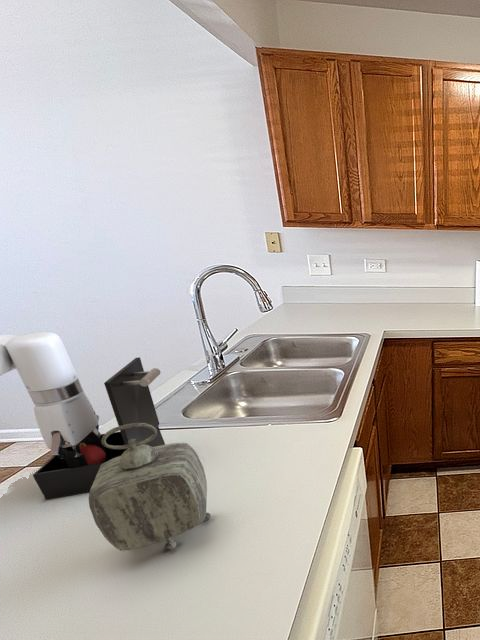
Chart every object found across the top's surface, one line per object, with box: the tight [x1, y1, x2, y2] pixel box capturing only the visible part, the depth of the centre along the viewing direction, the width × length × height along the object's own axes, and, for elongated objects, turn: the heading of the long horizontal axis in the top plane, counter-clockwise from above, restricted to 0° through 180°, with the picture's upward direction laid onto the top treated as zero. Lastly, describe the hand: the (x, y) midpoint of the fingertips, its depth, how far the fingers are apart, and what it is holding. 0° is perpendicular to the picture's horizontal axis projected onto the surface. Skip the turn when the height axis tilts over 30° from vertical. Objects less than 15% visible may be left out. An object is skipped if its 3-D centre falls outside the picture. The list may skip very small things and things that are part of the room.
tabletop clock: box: [88, 423, 211, 552], centre depth 68 cm, size 14×9×25 cm, turn 122°
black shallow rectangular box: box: [32, 425, 166, 501], centre depth 90 cm, size 17×14×6 cm
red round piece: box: [79, 443, 106, 465], centre depth 89 cm, size 6×6×8 cm
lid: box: [103, 356, 161, 445], centre depth 89 cm, size 18×14×6 cm
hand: (89, 461), depth 89 cm, fingers closed on red round piece, 5 cm apart
